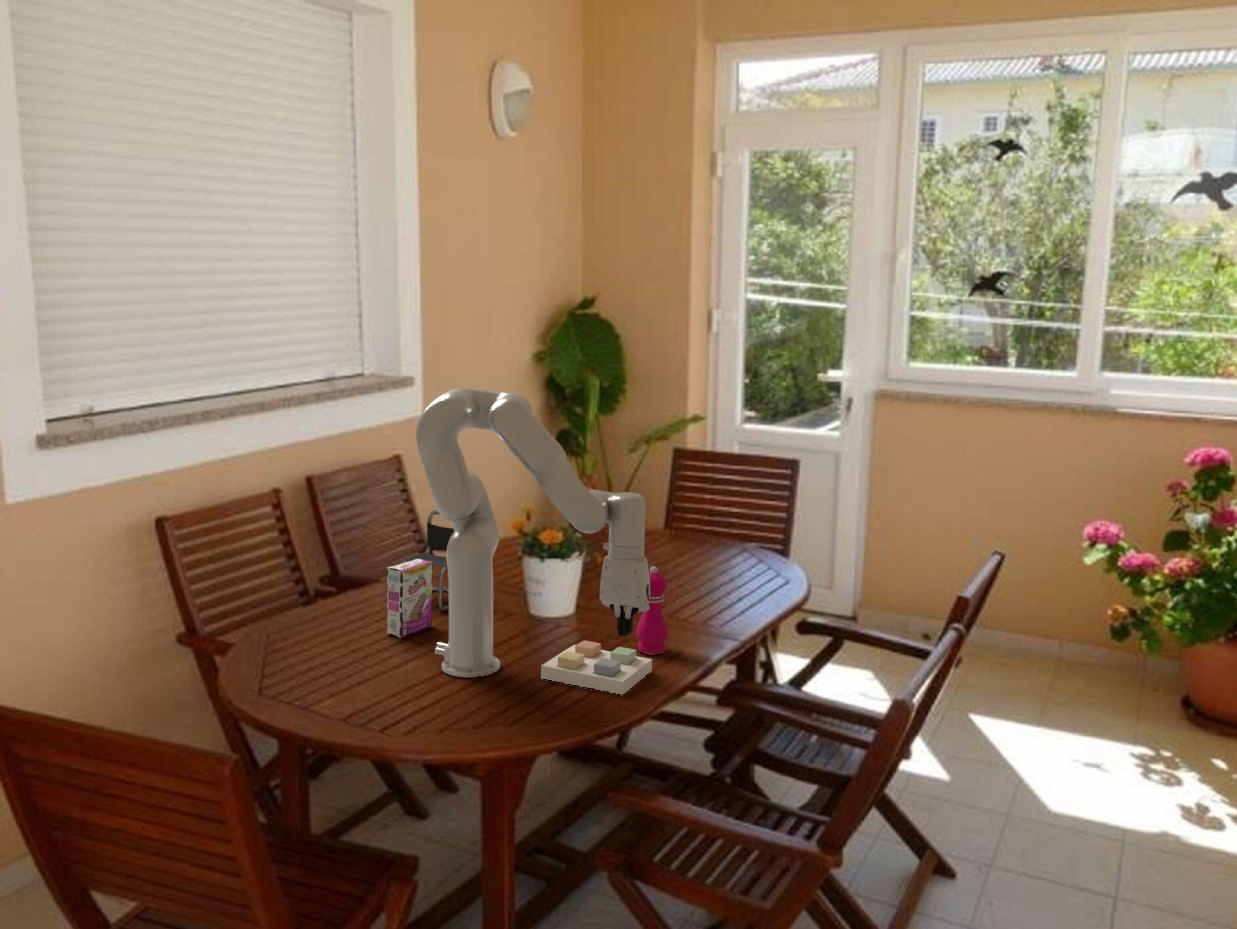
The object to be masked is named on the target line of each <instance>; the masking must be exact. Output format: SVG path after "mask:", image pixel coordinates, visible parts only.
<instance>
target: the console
mask: <svg viewBox="0 0 1237 929" xmlns="http://www.w3.org/2000/svg"><path fill="white" fill-rule="evenodd" d="M576 645H577V644H573V645H571V646H570V647H568V648H566V649H565V650H564V651H562V652H561V653H559V654H557V655H555V656H554V657H553V658H551V659H550V660H548V661H546V662H545V663H543V664H541V666H540V667H541V668H540V669H541V670H540V679H541V678H542V679H541V680H543V679H547V680H546V681H548V680H552V681H551V682H553V681H557V682H563V683H565V684H564V685H567V684H571V685H570V686H572V685H577V686H580V687H579V688H582V687H587V688H594V689H596V690H595V691H597V690H601V691H600V692H602V691H608V692H610V693H609V694H612V693H616V694H615V695H617V694H621V695H620V696H622V695H623V694H624V693H625V694H626V692H627V691H628V690H629V691H630V690H631V689H630V688H632V687H633V686H634V685H635V684H637V682H639V681H640V680H641V679H643V678H644V677H645V676H646V675H647V674H648V673H650V672H651V671H652V672H653V670H652V669H653V658H648V657H642V656H637V655H636V660H635V661H634V662H633V663H631V664H630V665H624V664H621V672H619V673H618V674H617V675H615V676H614V677H608V676H602V675H597V674H594V664H595V663H596V662H598V661H599V660H600V659H602V658H606V659H610V653H611V652H612V651H610V650H609V651H608V650H604V649H601V653H600V654H599V655H598V656H596V657H595V658H593V659H592V658H587V657H584V665H583V666H581V667H580V668H579V669H577V670H572V669H567V668H562V667H558V657H559V656H560V655H562V654H563V653H565V652H566V651H569V652H574V653H575V646H576ZM650 674H651V673H650ZM645 678H646V677H645ZM645 678H644V679H645ZM644 679H643V680H644ZM557 682H556V683H557ZM640 682H641V681H640ZM640 682H639V683H640ZM637 685H638V684H637ZM577 686H576V687H577ZM635 686H636V685H635ZM635 686H634V687H635ZM634 687H633V688H634ZM587 688H586V689H587ZM633 688H632V689H633ZM629 691H628V692H629ZM628 692H627V693H628ZM625 694H624V695H625ZM624 695H623V696H624Z"/></svg>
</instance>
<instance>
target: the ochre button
mask: <svg viewBox="0 0 1237 929" xmlns="http://www.w3.org/2000/svg"><path fill="white" fill-rule="evenodd" d="M584 657H585V654H580V653H574V652H569V651H566V652H565V653H563V654H562V655H560V656H559V657H558V667H562V668H567V669H572V670H577V669H579V668H580V667H581V666H583V665H584Z"/></svg>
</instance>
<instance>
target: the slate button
mask: <svg viewBox="0 0 1237 929" xmlns="http://www.w3.org/2000/svg"><path fill="white" fill-rule="evenodd" d="M619 672H621V661H617V660H612V659H606V658H602V659H600V660H599V661H598V662H596V663H595V664H594V674H597V675H602V676H608V677H614V676H615V675H617V674H618V673H619Z"/></svg>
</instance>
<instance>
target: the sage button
mask: <svg viewBox="0 0 1237 929" xmlns="http://www.w3.org/2000/svg"><path fill="white" fill-rule="evenodd" d="M610 652H611V653H610V659H612V660H617V661H621V664H624V665H630V664H631V663H633V662H634V661H635V660H636V656H637V649H633V648H629V647H623V646H617V647H616V648H614V650H612V651H610Z"/></svg>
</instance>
